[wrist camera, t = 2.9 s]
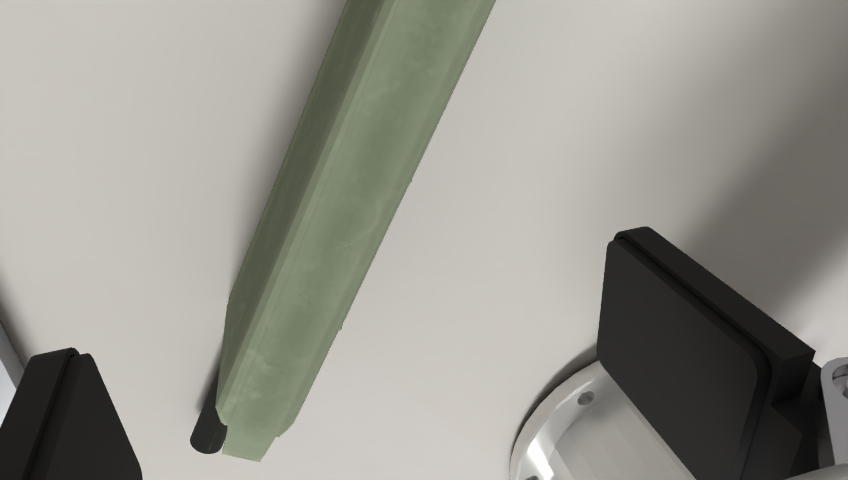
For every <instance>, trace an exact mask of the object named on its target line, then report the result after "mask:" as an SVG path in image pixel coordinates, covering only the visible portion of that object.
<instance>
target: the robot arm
mask: <svg viewBox="0 0 848 480" xmlns="http://www.w3.org/2000/svg"><path fill="white" fill-rule="evenodd" d="M815 352H816V351H815V350H813V349H812V348H811V347H809V346H808V345H807V344H805V343H804V342H803V341H801V340H800V339H799V338H797V337H796V336H795V335H793V334H792V333H791V332H789V331H788V330H787V329H785V328H784V327H783V326H781V325H780V324H779V323H777V322H776V321H775V320H773V319H772V318H771V317H769V316H768V315H767V314H765V313H764V312H763V311H761V310H760V309H759V308H757V307H756V306H754V305H753V304H752V303H750V302H749V301H748V300H746V299H745V298H744V297H742V296H741V295H740V294H738V293H737V292H736V291H734V290H733V289H732V288H730V287H729V286H728V285H726V284H725V283H724V282H722V281H721V280H720V279H718V278H717V277H716V276H714V275H713V274H712V273H710V272H709V271H708V270H706V269H705V268H704V267H702V266H701V265H700V264H698V263H697V262H696V261H694V260H693V259H691V258H690V257H689V256H687V255H686V254H685V253H683V252H682V251H681V250H679V249H678V248H677V247H675V246H674V245H673V244H671V243H670V242H669V241H667V240H666V239H665V238H663V237H662V236H661V235H659V234H658V233H657V232H655V231H654V230H653V229H651V228H649V227H639V228H635V229H630V230H625V231H620V232H618V233H617V234H616V235H615V237H614V240H613V241H611V242H609V244H608V246H607V253H606V262H605V272H604V282H603V291H602V301H601V311H600V320H599V330H598V339H597V355H598V359H599V360H598V361H596V362H594V363H592V364H591V365H589V366H587V367H585V368H584V369H582V370H580V371H578V372H577V373H575V374H574V375H572V376H571V377H570V378H568V379H567V380H566V381H565V382H563V383H562V384H561V385H559V386H558V387H557V388H555V389H554V390H553V391H552V392H551V393H550V394H549V395H548V396H547V398H546V399H545V400H544V401H543V402H542V403H541V404H540V405H539V406H538V407H537V408H536V410H535V411H534V413H533V414H532V415H531V417H530V418H529V419H528V421H527V422H526V423H525V425H524V427H523V429H522V431H521V433H520V435H519V437H518V439H517V441H516V443H515V446H514V450H513V453H512V456H511V460H510V480H848V357H844V358H837V359H834V360H831V361H829V362H827V363H826V364H825V365H824V366H823V368H820V367H819V366H818V365H816V364H815V363H814V362H813V358H814V355H815ZM0 480H142V472H141V468H140V465H139V462H138V460H137V458H136V455H135V453H134V451H133V449H132V446H131V444H130V442H129V439H128V437H127V435H126V432H125V430H124V428H123V426H122V423H121V421H120V419H119V416H118V414H117V412H116V410H115V407H114V405H113V403H112V400H111V398H110V396H109V393H108V391H107V389H106V387H105V384H104V382H103V380H102V377H101V375H100V373H99V371H98V368H97V366H96V364H95V361H94V359H93V358H92V356H91V355H90V354H88V353H86V354H81V355H80V354H79V352H78V351H77V350H76V349H75V348H72V347H71V348H67V349H62V350H57V351H52V352H48V353H43V354H38V355H34V356H32V357H31V359H30V360H29V362H28V364H27V367H26V369H25V371H24V374H23V376H22V378H21V381H20V383H19V385H18V387H17V390H16V392H15V394H14V397H13V399H12V401H11V404H10V406H9V408H8V411H7V413H6V415H5V417H4V420H3V422H2V424H1V427H0Z"/></svg>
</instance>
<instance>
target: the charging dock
mask: <svg viewBox="0 0 848 480" xmlns="http://www.w3.org/2000/svg"><path fill="white" fill-rule="evenodd" d="M24 371H25V370H24V368H23V366H22V364H21V362H20V360H19V358H18V356H17V354H16V352H15V350H14V348H13V346H12V344H11V342H10V340H9V338H8V336H7V334H6V332H5V330H4V328H3V326H2V324H1V322H0V427H1V424H2V422H3V420H4V417H5V415H6V413H7V411H8V408H9V406H10V404H11V401H12V399H13V397H14V394H15V392H16V390H17V387H18V385H19V383H20V381H21V378H22V376H23V374H24Z"/></svg>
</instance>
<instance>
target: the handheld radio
mask: <svg viewBox="0 0 848 480" xmlns="http://www.w3.org/2000/svg"><path fill="white" fill-rule="evenodd" d="M495 2H496V0H347V3H346V5H345V8H344V10H343V13H342V15H341V18H340V20H339V23H338V25H337V28H336V30H335V33H334V35H333V38H332V40H331V43H330V45H329V48H328V50H327V53H326V55H325V58H324V61H323V63H322V66H321V68H320V71H319V73H318V76H317V78H316V81H315V83H314V86H313V88H312V91H311V93H310V96H309V98H308V101H307V103H306V106H305V108H304V111H303V113H302V116H301V119H300V121H299V124H298V126H297V129H296V131H295V134H294V136H293V139H292V141H291V144H290V146H289V149H288V151H287V154H286V156H285V159H284V161H283V164H282V166H281V169H280V171H279V174H278V177H277V179H276V182H275V184H274V187H273V189H272V192H271V194H270V197H269V199H268V202H267V204H266V207H265V209H264V212H263V214H262V217H261V219H260V222H259V224H258V227H257V229H256V232H255V235H254V237H253V240H252V242H251V245H250V247H249V250H248V252H247V255H246V257H245V260H244V262H243V265H242V267H241V270H240V272H239V275H238V277H237V280H236V282H235V285H234V287H233V290H232V293H231V295H230V298H229V302H228V304H227V311H226V319H225V328H224V336H223V345H222V354H221V362H220V367H219V369H218V372H217V374H216V377H215V379H214V382H213V384H212V386H211V389H210V391H209V394H208V396H207V399H206V401H205V404H204V406H203V408H202V411H201V413H200V416H199V418H198V421H197V423H196V426H195V428H194V430H193V433H192V435H191V438H190V443H191V445H192V447H193V448H194V449H195V450H197V451H199V452H201V453H204V454H213V453H216V452H218V451H219V450H220V449H221V448H222V445H223V443H224V446H223V450H222V454H225V455H230V456H234V457H238V458H243V459H247V460H252V461H256V462H260V461H261V460H262V458H263V456H264V455H265V453H266V452H267V450H268V448H269V447H270V445H271V444H272V442H273V441H274V439H275V437H279V436H280V435H281V434H283V433H284V432H285V431H286V430H287V429H288V428H289V427H290V426H291V425H292V424H293V423H294V421H295V419H296V417H297V415H298V413H299V411H300V409H301V407H302V405H303V403H304V401H305V399H306V397H307V395H308V393H309V391H310V389H311V386H312V384H313V382H314V380H315V378H316V376H317V374H318V372H319V370H320V368H321V366H322V364H323V362H324V360H325V357H326V355H327V353H328V351H329V349H330V347H331V345H332V343H333V341H334V339H335V337H336V335H337V333H338V331H339V330H341V329H342V325H343V322H344V320H345V318H346V316H347V314H348V311H349V309H350V307H351V305H352V303H353V301H354V299H355V297H356V295H357V293H358V290H359V288H360V286H361V284H362V282H363V280H364V278H365V276H366V274H367V271H368V269H369V267H370V265H371V263H372V261H373V259H374V257H375V255H376V252H377V250H378V248H379V246H380V244H381V242H382V240H383V238H384V236H385V234H386V231H387V229H388V227H389V225H390V223H391V221H392V219H393V217H394V215H395V212H396V210H397V208H398V206H399V204H400V202H401V200H402V198H403V196H404V194H405V192H406V190H407V188H408V186H409V184H410V183H411V181H412V177H413V175H414V173H415V171H416V169H417V167H418V165H419V163H420V161H421V159H422V157H423V154H424V152H425V150H426V148H427V146H428V144H429V142H430V140H431V137H432V135H433V133H434V131H435V129H436V127H437V125H438V123H439V120H440V118H441V116H442V114H443V112H444V110H445V108H446V106H447V103H448V101H449V99H450V97H451V95H452V93H453V91H454V89H455V86H456V84H457V82H458V80H459V78H460V76H461V74H462V72H463V69H464V67H465V65H466V63H467V61H468V59H469V57H470V55H471V52H472V50H473V48H474V46H475V44H476V42H477V40H478V38H479V35H480V33H481V31H482V29H483V27H484V25H485V23H486V21H487V19H488V16H489V14H490V12H491V10H492V8H493V6H494V4H495ZM224 441H225V442H224Z"/></svg>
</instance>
